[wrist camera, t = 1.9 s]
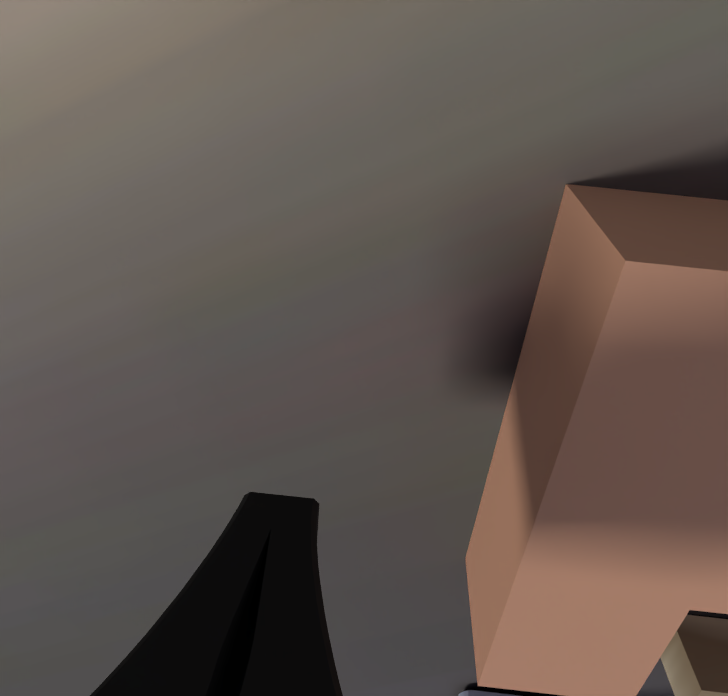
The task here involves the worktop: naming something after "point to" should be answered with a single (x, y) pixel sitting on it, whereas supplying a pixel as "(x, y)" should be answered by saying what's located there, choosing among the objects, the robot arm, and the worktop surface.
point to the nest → (698, 657)
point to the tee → (609, 451)
